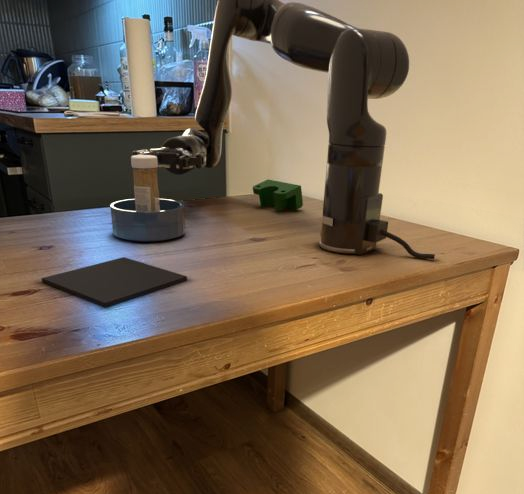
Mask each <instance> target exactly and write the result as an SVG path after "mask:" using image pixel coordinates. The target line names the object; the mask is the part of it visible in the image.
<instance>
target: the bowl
mask: <svg viewBox="0 0 524 494" xmlns="http://www.w3.org/2000/svg"><path fill="white" fill-rule="evenodd" d="M159 204H160V211H136V205H135V198H128V199H122V200H117V201H113V202H111V203H110V204H109V207H110V217H111V226H112V235H113V236H115V237H117V238H120V239H122V240H126V241H131V242H139V243H141V242H143V243H148V242H149V243H154V242H164V241H169V240H173V239H175V238H179V237H180V236H184V234H185V233H186V219H185V218H186V215H185V213H186V212H185V204H184V203H183V202H182V201H179V200H174V199H167V198H159Z"/></svg>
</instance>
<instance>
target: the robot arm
mask: <svg viewBox="0 0 524 494" xmlns="http://www.w3.org/2000/svg"><path fill="white" fill-rule="evenodd" d="M232 36H234V37H237V38H241V39H245V40H248V41H252V42H259V43H265V44H270V45H271V47H272V49H273V51H274V52H275V54H277V55H278V56H279V57H280V58H282V59H283V60H284V61H287V62H288V63H291V64H293V65H295V66H297V67H300V68H302V69H306V70H307V69H308V70H309V71H310V70H311V71H314V72H315V71H316V72H319V73H327V99H326V100H327V101H326V102H327V104H326V105H327V107H326V125H327V129H328V143H327V144H328V145H327V157H326V168H325V180H324V193H323V204H322V216H321V230H320V239H319V247H320V248H322V249H323V250H326V251H329V252H333V253H339V254H351V255H353V254H354V255H359V256H361V255H363V254H366V253H368V252H371V251H373V250H376V249H377V244H378V242H381V241H384V240H386V239H390V240H392V241H394V242H396V243H397V244H399V245H401V246H402V248H404V250H405V251H406V252H407V253H408V254H409V255H410V256H411V257H413V258H416V259H421V260H422V259H423V260H435V257H436V254H435V253H420V252H417V251H415V250H414V249H412V247H411V246H410V245H409V243H407V241H405V240H403V239H402V238H401V237H399V236H397V235H395V234H393V233H391V232H388V228H389V220H388V221H387V220H383V219H381V214H382V206H383V198H384V195H383V193H382V192H380V185H381V178H382V171H383V163H384V155H385V148H386V141H387V128H386V127H385V125H383V124H381V123H380V122H378V121H376V120H375V119H374V118H373V117H372V116H371V114H370V112H369V105H368V101H369V100H379V99H383V98H387V97H389V96H391V95H393V94H395V93H396V92H397V91H398V90H399V89H400V88H401V87H402V86H403V84H405V81H406V80H407V78H408V75H409V71H410V57H409V52H408V49H407V47H406V45H405V43H404V42H403V40H402V39H401V38H400V37H398V35H396V34H394V33H391V32H388V31H382V30H376V29H366V28H359V27H356V26H354V25H352V24H349V23H347V22H345V21H343V20H341V19H340V18H337V17H335V16H333V15H331V14H330V13H327V12H324V11H322V10H320V9H319V8H315V7H313V6H310V5H307V4H304V3H301V2H296V1H290V2H286V3H284V2H282V1H281V0H217V3H216V7H215V12H214V17H213V25H212V30H211V38H210V42H209V43H210V44H209V51H208V59H207V64H206V65H207V66H206V73H205V78H204V82H203V86H202V90H201V92H200V96H199V100H198V104H197V108H196V110H195V115H194V120H195V122H196V123H197V125H198V126H199V127H200V128H202V130H204V131H205V133H206V134H205V133H204V132H201V131H200V130H198V129H196V128H187V129H186V130H185V131H183V133H182V135H178V136H174V137H173V136H172V137H170V138H168V139H166V140H165V141H164V142H163V144H162V145H161V147H160V148H150V149H147V148H143V149H139V150H133V151H132V156H134V155H153V156H156V157H157V161H158V167H157V168H164V169H165V170H166V171H167V172H169V173H170V174H173V175H177V176H178V175H185V174H187V173H189V172H191V171H193V170H194V169H196V168H197V169H202V168H207V169H212V168H214V167H216V166H217V164H218V163H219V162H220V160H221V155H222V148H223V147H222V146H223V131H224V130H223V129H224V124H225V121H226V118H227V115H228V112H229V109H230V106H231V102H232V99H233V85H232V78H231V74H230V69H229V68H230V67H229V61H228V51H229V45H230V41H231V39H232Z"/></svg>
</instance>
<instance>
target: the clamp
mask: <svg viewBox="0 0 524 494" xmlns="http://www.w3.org/2000/svg"><path fill="white" fill-rule="evenodd" d="M252 192H253V194H254V195H257V196H258V197H259V205H260V208H261V209H263V208H265V207H266V208H267V207H269V206H270V207H274V210H275V211H274V212H276V213H277V212H278V213H279V212H280V211H282V210H287V211H288V210H289V211H292V212H295V211H297V210H299V209H301V208H302V207H303V205H304V200H303V192H302V185H300V184H295V183H289V182H284V181H280V180H279V181H278V180H273V179H265V180H264V181H261V182H259V183H257V184H254V185H252Z"/></svg>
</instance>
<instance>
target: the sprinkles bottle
mask: <svg viewBox="0 0 524 494" xmlns="http://www.w3.org/2000/svg"><path fill="white" fill-rule="evenodd" d="M130 164H131V168H132V177H133V192H134V193H133V194H134V199H135V205H136V211H160V204H159V199H160V192H159V183H158V181H159V180H158V168H159V167H158V164H159V163H158V161H157V157H156V156H153V155H134V156H133V155H131V156H130Z"/></svg>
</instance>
